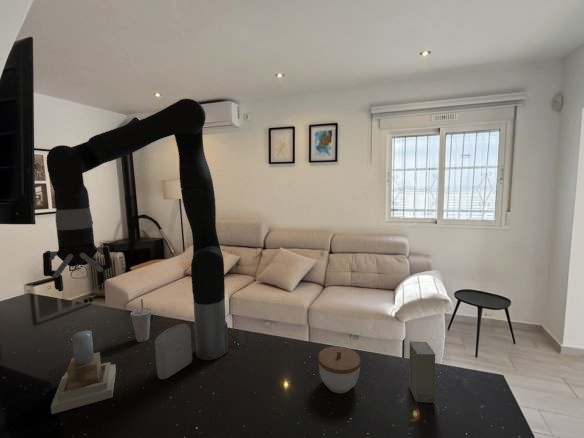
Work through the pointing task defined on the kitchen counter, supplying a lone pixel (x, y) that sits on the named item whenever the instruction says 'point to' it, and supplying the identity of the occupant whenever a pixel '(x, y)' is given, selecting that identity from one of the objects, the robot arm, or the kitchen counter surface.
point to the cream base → (84, 391)
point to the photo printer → (173, 350)
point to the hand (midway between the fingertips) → (81, 287)
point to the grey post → (83, 347)
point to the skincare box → (422, 371)
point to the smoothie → (141, 322)
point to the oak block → (84, 373)
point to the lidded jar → (339, 368)
